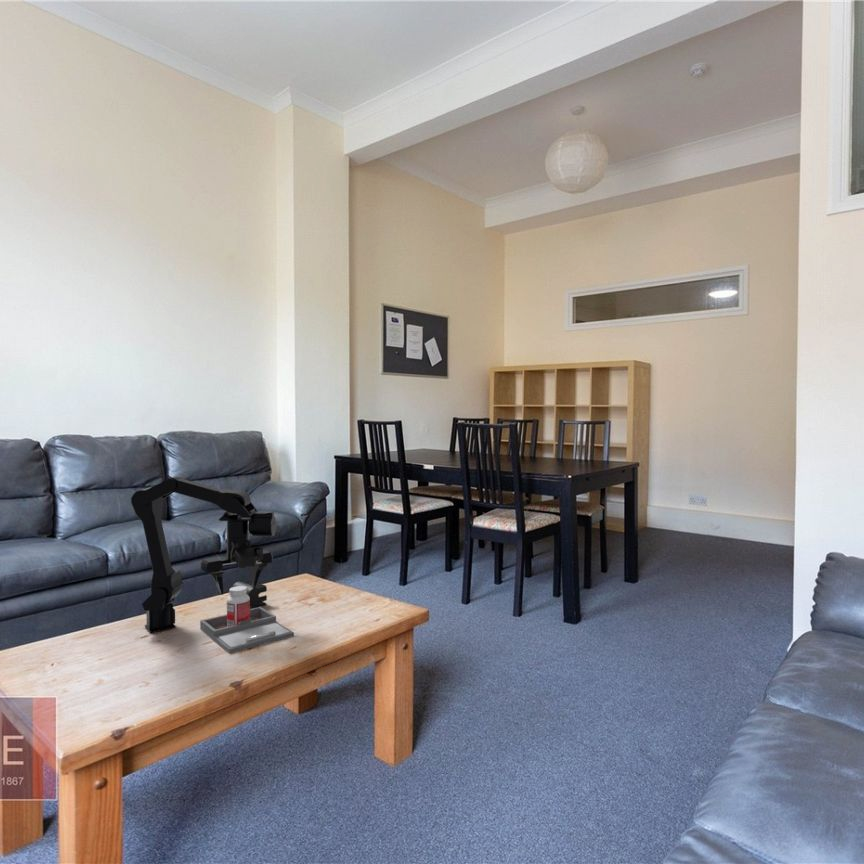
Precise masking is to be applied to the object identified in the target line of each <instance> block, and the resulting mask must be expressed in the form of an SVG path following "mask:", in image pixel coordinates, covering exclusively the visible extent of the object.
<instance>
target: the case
mask: <svg viewBox="0 0 864 864" xmlns="http://www.w3.org/2000/svg"><path fill="white" fill-rule="evenodd" d="M258 617H259V619H255V620H254V618H258ZM251 619H253V620H251ZM274 621H277V616H276V615H274V614H273V613H271V612H270V611H268V610H267V609H265V608H263V606H261V607H258V608H250V619H246V620H242V621H241V624H237V625H233V626H229V627H227V626H226V627H225V626H224V625H227V614H223V615H222V614H221V615H218V616H214V617H209V618H205V619H201V620H199V622H200V623H199V624H200V628H199V630H201V632H203V633H204V634H205V635H206V636H208V637H209V638H210V639H211V640H213V641H214V636H218V635H222V634H226V633H230V632H234V631H238V630H242V629H246V628H250V627H254V626H258V625H262V624H266V623H270V622H274ZM220 626H224V627H221V628H217V629H216V627H220Z"/></svg>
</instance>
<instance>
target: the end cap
mask: <svg viewBox="0 0 864 864" xmlns="http://www.w3.org/2000/svg"><path fill="white" fill-rule="evenodd" d="M237 586H245V587H247V593H246V594H247V595H248V596H249V597H250V608H251V609H253V608H258V607H264V606H267V603H266V601H267V600H268V599H267V597H268V595H262V596H260V594H262V593H266V592H267V589H268V587H267V585H265V584H263V583H259V584H256V587H255V588H252V580H250V581H249V580H248V581H246V582H242V581H236V582H235V583H233V584H232V586H231V587H230V588H232V587H237Z"/></svg>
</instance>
